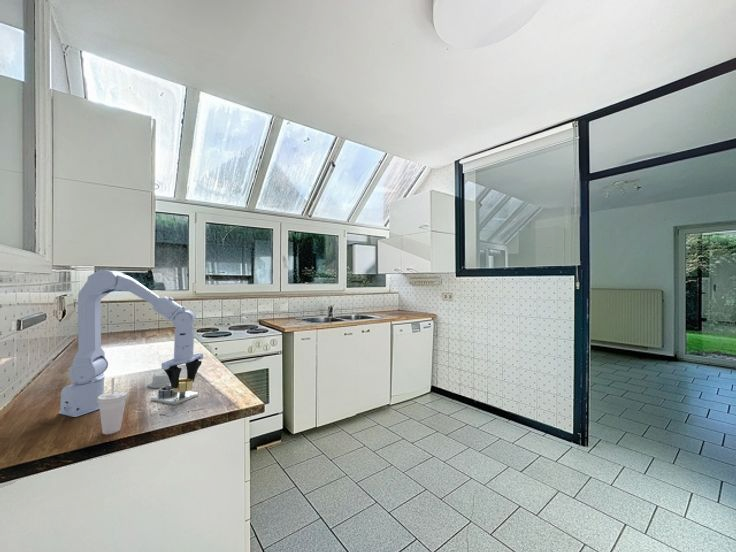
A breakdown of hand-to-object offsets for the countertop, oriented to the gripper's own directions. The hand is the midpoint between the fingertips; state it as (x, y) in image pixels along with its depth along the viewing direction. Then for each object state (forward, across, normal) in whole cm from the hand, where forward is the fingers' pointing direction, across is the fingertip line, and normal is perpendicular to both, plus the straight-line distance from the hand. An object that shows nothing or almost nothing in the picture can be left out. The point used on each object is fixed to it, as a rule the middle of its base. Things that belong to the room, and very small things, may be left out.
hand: (182, 384), depth 104 cm
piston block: (+5, 0, +3) cm, 6 cm away
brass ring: (+2, 0, 0) cm, 2 cm away
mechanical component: (+5, +9, +20) cm, 23 cm away
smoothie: (+5, -23, -2) cm, 24 cm away
